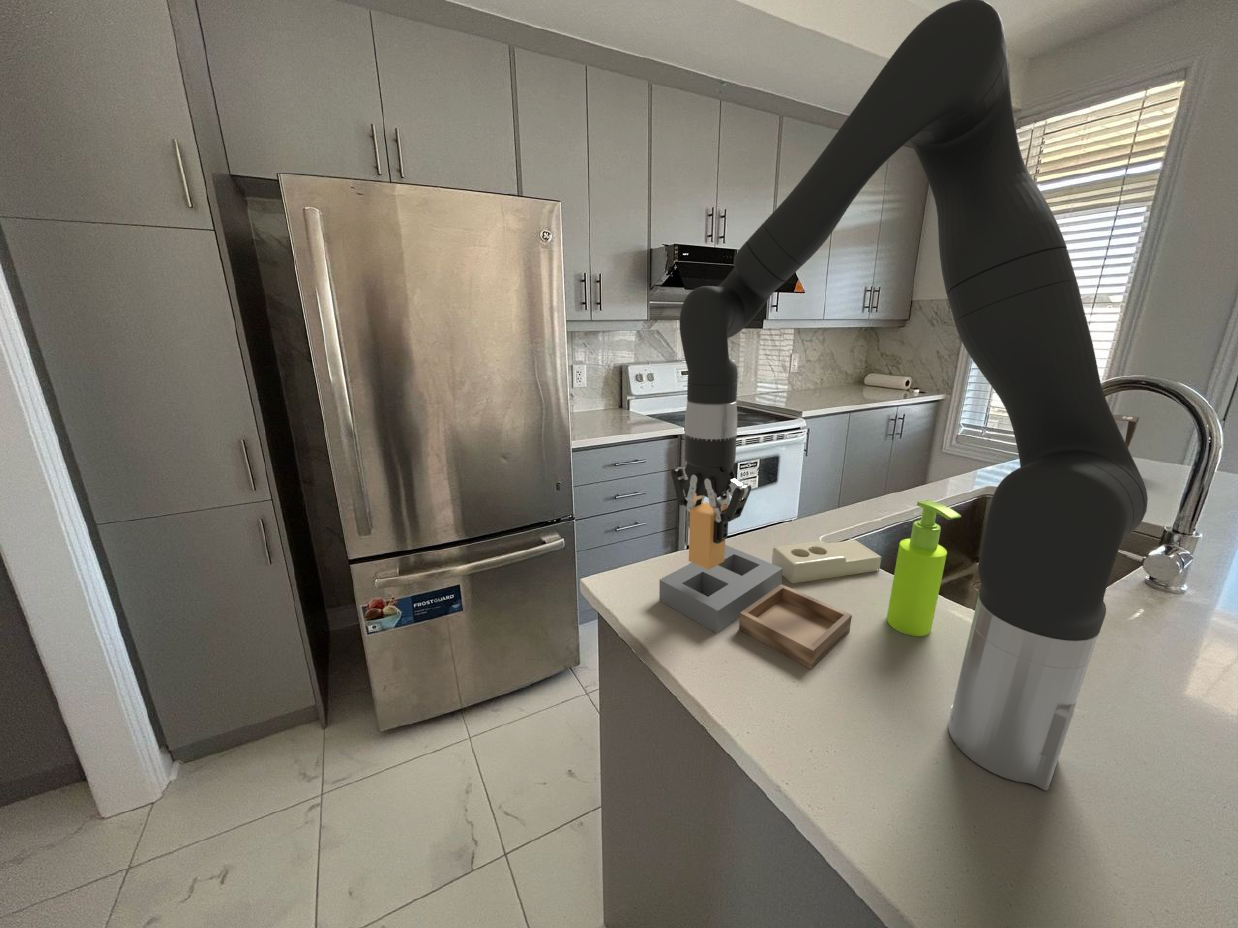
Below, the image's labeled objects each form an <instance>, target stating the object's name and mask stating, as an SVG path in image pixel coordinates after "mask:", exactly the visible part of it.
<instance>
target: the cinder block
mask: <svg viewBox="0 0 1238 928" xmlns="http://www.w3.org/2000/svg"><path fill="white" fill-rule="evenodd" d="M782 571H783V568H781V567H779V566H776V565H774V564H772V562H769V561H766V560H763V559H761V558H759V557H756V556H754V555H752V554H748V553H746V552H744V551H742V550H739V549H737V548H734V547H733V546H732V547H731V546H729V545H726V544H725V557H724V562H722V563H720V564H718V565H717V566H715V567H713V568H711V569H709V570H708V569H705V568H703V567H701V566H699V565H697V564H694V563H692V562H690V563H688V564H687V565H684V566H682V567H681V568H678V569H677V570H676V571H673V572H671V573H669V574H668V575H666V576H663V577H662V578H660V579H659V590H658V591H659V595H658V596H659V602H661V603H663V604H664V605H667V606H668V607H670V608H672V609H674V611H675V610H676V611H677V612H679V613H681V614H683V615H684V616H686V617H687V618H689V619H691V620H693V621H694V622H696V623H698V624H700V625H702V626H703V627H704V628H706V629H708V630H710V631H712V632H714V634H719V633H720V632H721V631H723V630H724V629H725V628H727V627H729V626H730V625H731V624H733V623H734V622H735V621H737V620H738V619H740V612H742V611H743V610H745V609H746V608H748V607H749V606H750V605H752V604H753V603H755V602H756V601H758V600H759V599H760V598H762V597H763V596H765V595H766V594H768V593H769V592H771V591H772V590H773V589H775V588H776V587H778V586H779V585H781V584H782V581H783V575H782ZM707 595H708V596H707Z"/></svg>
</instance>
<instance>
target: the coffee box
mask: <svg viewBox="0 0 1238 928" xmlns="http://www.w3.org/2000/svg"><path fill="white" fill-rule="evenodd" d="M1112 415H1113V417H1114V419H1115V422H1116V424H1117V426H1118V428H1119V430H1120V433H1121V435H1122V437H1123V439H1124V441H1125V443H1126V445H1127V448H1128V450H1129V451H1130V449H1131V445H1132V442H1133V439H1134V435H1135V433H1136V429H1137V426H1138V422H1139V420H1140V416H1136V415H1135V416H1133V415H1126V414H1125V415H1123V414H1115V413H1114V414H1113V413H1112Z"/></svg>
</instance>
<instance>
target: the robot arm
mask: <svg viewBox="0 0 1238 928" xmlns="http://www.w3.org/2000/svg"><path fill="white" fill-rule="evenodd" d="M1009 61H1010V60H1009V53H1008V45H1007V38H1006V33H1005V28H1004V23H1003V20H1002V18H1001V16H1000V13H999V12H998V10H997V8H996V7H995V6H993V5H992V4H991V3H989V2H988V1H985V0H955V1H952V2H951V1H950V2H949V3H946V4H945V5H944V6H941V7H939V8H937V9H936V10H934V11H933V12H932V13H931V14H929V15H928V16H926V17H925V18H924V19H923V20H922V21H921V22H920V23H918V24H917V25H916V26H915V27H914V28H913V30H911V32H910V33H909V34H908V35H907V36H906V37H905V39H904V40H903V41H902V42H901V44H900V45H899V46H898V48H897V49H896V50H895V51H894V53H893V54H892V56H890V58H889V59H888V60H887V62H886V64H885V65H884V66H883V68H882V69H881V70H880V72H879V73H878V75H877V76H876V78H875V79H874V80H873V82H872V83H871V85H870V86H869V88H868V89H867V90H866V91H865V94H864V95H863V96H862V98H861V99H860V100H859V101H858V103H857V105H856V106H855V108H854V109H853V110H852V112H851V113H850V114H849V115H848V116H847V118H846V120H845V121H844V122H843V124H842V125H841V127H840V128H839V129H838V131H837V132H836V134H834V137H832V139H831V140H830V141H829V143H828V144H827V146H826V147H825V148H824V150H823V151H822V152H821V154H820V155H819V156H818V158H817V159H816V161H814V163H813V164H812V166H811V167H810V168H809V169H808V171H807V172H806V173H805V174H804V175H803V177H802V178H801V179H800V180H799V182H798V183H797V184H796V186H795V187H794V188H793V190H791V192H790V193H789V194H788V195H787V196H786V197H785V199H784V200H783V201H782V202H781V203H780V205H778V206H777V208H775V210H774V211H773V212H772V213H771V214H770V215H769V216H768V217H767V219H766V220H764V222H763V223H762V224H761V225H760V226H759V227H757V229H756V230H754V233H753V234H751V236H750V237H749V238H748V239H747V240H745V242H744V244H742V245H741V247H740V248H739V249H738V250H737V253H736V254H735V256H734V258H733V259H734V260H733V267H734V268H733V269H732V270H731V271H730V272H729V274H728V275H727V277H725V279H724V280H723V281H722V282H721V283H720V284H719V285H718V286H714V285H712V286H711V285H703V286H699V287H696V288H694V289H693V290H692V291H691V292H689V293H688V294H687V295H686V297H685V298H684V299H683V300H684V301H683V303H682V304H681V309H680V313H679V334H680V340H681V346H682V352H683V356H684V361H685V364H686V367H687V384H686V385H687V386H686V387H687V390H686V394H687V395H686V408H685V414H684V415H685V416H684V454H683V455H684V458H683V459H684V461H685V462H686V464H685V465H682V466H678V467H676V468H673V469H671V471H670V474H671V479H672V482H673V486H674V490H675V494H676V498H677V502H678V504H679V506H684V507H685V508H686V511H687V512H688V522H687V523H688V524H687V526H688V527H689V524H690V509H691V508H693V507H696V506H698V505H700V504H703V503H704V500H705V497H706V498H707V499H708V503H709V504H710V507H712V508H713V514H714V519H715V521H714V534H713V542H714V543H717V544H719V543H721V542H723V541H724V540H725V541H726V539H727V538H728V536H729V535H728V533H729V531H728V530H729V522H732V521H734V520H736V519H738V518H740V517H741V516H742V513H743V510H744V507H745V505H746V503H747V501H748V498H749V496H750V493H751V491H752V486H751V484H750V483H744V484H743V482H740V481H738V480H737V479H736V475H735V472H734V465H735V462H736V453H737V436H738V435H737V434H738V433H737V432H738V431H737V430H738V407H737V406H738V405H737V404H738V403H737V399H738V398H737V397H738V396H737V395H738V380H739V377H738V374H739V373H738V365H737V364H736V362H735V361H733V360H732V359H730V354H729V342H728V340H729V339H730V338H732V337H734V336H735V335H737V334H738V333H740V332H741V331H742V330H743V329H744V328H746V327H747V326H748V325H749V324H750V323H751V321H753V319H754V318H755V317H756V316H757V314H759V312H760V311H761V309H762V308H763V307H764V305H766V304H767V302H768V300H769V299H770V298H771V297H772V295H773V294H774V292H775V291H776V290H778V289H779V288H780V287H781V286H782V285H783V284H785V283H786V282H787V281H788V280H789V279H790V278H791V277H792V276H793V275H794V274H796V272H797V271H798V270H799V269H800V268H801V267H803V265H804V264H806V263H807V261H809V260H810V259H811V258H812V257H813V256H814V255H815V254H816V253H817V252H818V251H819V249H821V247H822V246H823V245H824V244H825V242H826V241H827V240H828V238H829V237H830V236H831V235H832V233H833V232H834V230H835V229H836V228H837V226H838V224H839V223H840V221H841V219H842V218H843V216H844V215H845V213H846V212H847V210H848V209H849V207H850V206H851V204H852V203H853V202H854V200H855V199H856V197H857V196H858V195H859V193H860V192H861V191H862V190H863V188H864V187H865V185H866V184H867V183H868V181H869V180H870V179H871V178H872V177H873V176H874V175H875V174H876V172H877V171H878V170H879V169H880V168H881V167H882V166H884V164H885V163H886V162H887V161H888V160H889V159H890V158H891V157H892V156H893V155H894V154H896V152H897V151H898V150H900V149H901V148H902V147H904V146H905V145H906V144H908V142H909V143H910V144H911V145H912V148H913V150H914V151H915V154H916V156H917V158H918V160H919V162H920V164H921V167H922V170H923V171H924V174H925V177H926V180H927V182H928V185H929V186H930V189H931V193H932V196H933V199H934V202H935V208H936V214H937V229H938V249H939V258H940V259H939V260H940V267H941V274H942V275H941V276H942V278H943V284H944V285H943V286H944V288H945V290H944V291H945V294H946V296H947V300H948V304H949V307H950V310H951V313H952V314H951V315H952V317H953V321H954V325H955V327H956V331H957V334H958V335H959V339H960V341H961V343H962V345H963V346H964V347H963V348H965V350H966V351H967V353H968V355H969V357H970V358H971V360H972V361H973V363H974V364H975V365H976V367H977V368H978V369H979V371H980V372H981V374H982V375H983V377H984V378H985V380H986V381H987V382H988V383H989V385H990V386H991V388H992V389H993V390H994V392H995V393H996V395H997V396H998V397H999V399H1000V401H1001V403H1002V405H1003V407H1004V408H1005V411H1006V413H1007V416H1008V418H1009V421H1010V425H1011V426H1012V431H1013V435H1014V440H1015V443H1016V448H1017V452H1018V453H1017V454H1018V458H1019V468H1017V469H1015V470H1013V471H1012V472H1010V473H1008V474H1007V475H1006V476H1005V477H1004V478H1003V479H1002V480H1001V481H1000V482H999V484H998V485H997V487H996V488H995V491H994V493H993V496H992V498H991V501H990V504H989V507H988V510H987V511H988V512H987V515H986V521H985V526H984V530H983V535H982V536H983V537H982V542H981V546H980V553H979V558H978V565H977V567H978V568H977V571H978V578H979V581H980V588H979V593H978V596H977V600H976V604H975V605H976V606H975V609H974V613H973V618H972V623H971V626H970V630H969V635H968V639H967V641H966V647H965V651H964V656H963V659H962V660H963V661H962V664H961V668H960V671H959V676H958V681H957V686H956V689H955V694H954V698H953V702H952V705H951V709H950V712H949V714H950V715H949V720H948V723H947V724H948V725H947V727H948V732H949V734H950V737H951V739H952V740H953V742H954V744H955V745H956V747H958V748H959V750H960V751H961V752H962V753H963V754H964V755H966V757H968V758H969V759H971V761H972V762H974V763H975V764H977V765H978V766H980V767H982V768H983V769H985V770H987V771H989V772H990V773H992V774H993V775H994V774H995V775H997V776H999V777H1002V778H1005V779H1007V780H1011V781H1014V782H1017V783H1024V784H1031V785H1034V786H1036V787H1038V788H1039V789H1042V790H1044V791H1048V790H1049V788H1050V786H1051V785H1050V784H1051V782H1052V779H1053V776H1054V773H1055V770H1056V766H1057V764H1058V761H1059V758H1060V755H1061V752H1062V748H1063V746H1064V743H1065V739H1066V737H1067V733H1068V732H1069V728H1070V725H1071V723H1072V719H1073V716H1074V712H1075V709H1076V706H1077V702H1078V698H1079V696H1080V691H1081V690H1082V686H1083V683H1084V679H1085V675H1086V674H1087V670H1088V668H1089V664H1090V661H1091V659H1092V655H1093V652H1094V649H1095V647H1096V643H1097V640H1098V637H1099V634H1100V633H1101V630H1102V627H1103V623H1104V620H1105V618H1106V614H1107V606H1106V604H1105V601H1104V598H1105V595H1106V591H1107V587H1108V584H1109V581H1110V579H1111V578H1110V577H1111V575H1112V571H1113V568H1114V566H1115V562H1116V559H1117V556H1118V553H1119V550H1120V548H1121V545H1122V542H1123V541H1124V540H1125V539H1126V538H1127V537H1128V536H1130V535H1131V534H1132V533H1133V532H1134V531H1135V530H1136V529H1137V528H1138V526H1139V525H1140V524H1141V523H1142V522H1143V520H1144V518H1145V516H1146V513H1147V511H1148V510H1147V509H1148V491H1147V487H1146V484H1145V482H1144V479H1143V477H1142V475H1141V473H1140V471H1139V468H1138V466H1137V465H1136V462H1135V460H1134V458H1133V456H1132V453H1131V452H1130V449H1129V450H1128V448H1127V445H1126V443H1125V441H1124V439H1123V437H1122V435H1121V433H1120V430H1119V428H1118V426H1117V424H1116V422H1115V419H1114V417H1113V415H1112V414H1113V413H1112V411H1111V409H1110V406H1109V403H1108V401H1107V398H1106V396H1105V393H1104V390H1103V389H1104V388H1103V386H1102V382H1101V378H1100V374H1099V368H1098V364H1097V358H1096V354H1095V353H1096V352H1095V349H1094V344H1093V339H1092V335H1091V332H1090V328H1089V324H1088V319H1087V316H1086V313H1085V308H1084V303H1083V301H1082V295H1081V292H1080V291H1081V290H1080V287H1079V282H1078V280H1077V277H1076V273H1075V270H1074V267H1073V264H1072V261H1071V257H1070V254H1069V251H1068V247H1067V244H1066V241H1065V238H1064V236H1063V233H1062V232H1061V229H1060V227H1059V223H1058V221H1057V219H1056V217H1055V216H1054V213H1053V211H1052V209H1051V207H1050V206H1049V204H1048V202H1047V200H1046V199H1045V196H1044V195H1043V194H1042V192H1041V190H1040V188H1039V186H1037V185H1038V184H1036V181H1035V180H1034V178H1032V176H1031V174H1030V172H1029V170H1028V168H1027V165H1026V164H1025V161H1024V158H1023V156H1022V153H1021V152H1022V151H1021V148H1020V143H1019V138H1018V133H1017V128H1016V122H1015V121H1016V120H1015V117H1014V109H1013V102H1012V101H1013V100H1012V93H1011V84H1010V82H1011V81H1010V78H1011V77H1010V76H1011V75H1010V71H1011V70H1010V62H1009ZM729 489H731V490H730V492H729ZM721 510H722V512H721Z"/></svg>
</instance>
